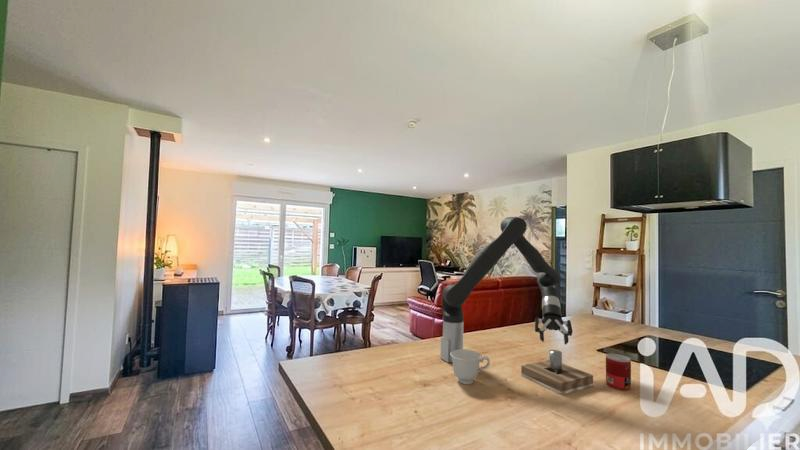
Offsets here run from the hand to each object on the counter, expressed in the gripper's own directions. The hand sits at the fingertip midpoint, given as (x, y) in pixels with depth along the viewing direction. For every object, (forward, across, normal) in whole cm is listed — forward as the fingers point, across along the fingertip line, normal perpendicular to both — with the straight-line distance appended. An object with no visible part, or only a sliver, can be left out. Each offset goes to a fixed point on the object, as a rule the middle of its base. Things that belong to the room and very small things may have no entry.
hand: (554, 342), depth 135 cm
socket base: (+13, 0, +5) cm, 14 cm away
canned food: (+11, +22, +8) cm, 26 cm away
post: (+13, 0, +5) cm, 13 cm away
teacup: (+23, -32, -4) cm, 40 cm away
